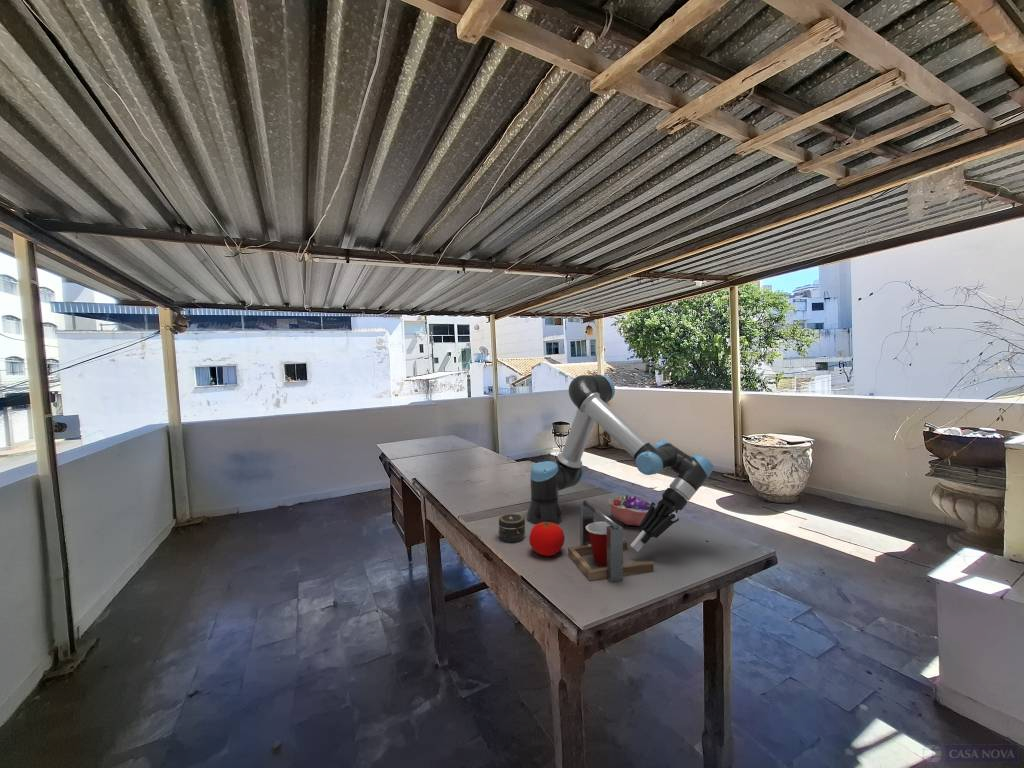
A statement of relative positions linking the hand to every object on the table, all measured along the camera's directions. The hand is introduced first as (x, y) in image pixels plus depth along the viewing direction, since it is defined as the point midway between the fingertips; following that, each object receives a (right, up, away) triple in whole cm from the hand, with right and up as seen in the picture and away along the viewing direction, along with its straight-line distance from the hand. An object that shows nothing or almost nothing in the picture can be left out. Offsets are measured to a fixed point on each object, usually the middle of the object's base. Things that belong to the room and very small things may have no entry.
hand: (634, 548), depth 128 cm
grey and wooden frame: (-9, -4, -1) cm, 10 cm away
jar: (-40, -4, +19) cm, 45 cm away
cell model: (+9, -3, +32) cm, 33 cm away
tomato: (-28, -4, +6) cm, 29 cm away
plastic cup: (-11, -4, -1) cm, 12 cm away
